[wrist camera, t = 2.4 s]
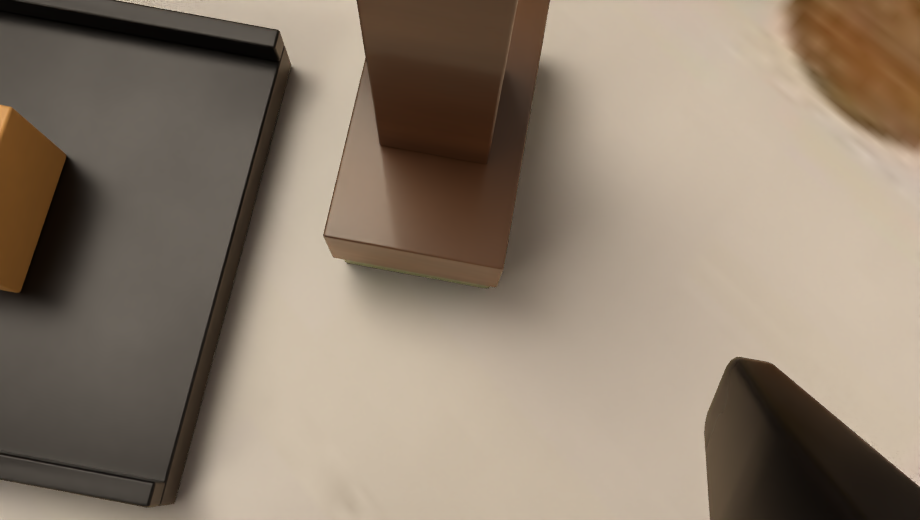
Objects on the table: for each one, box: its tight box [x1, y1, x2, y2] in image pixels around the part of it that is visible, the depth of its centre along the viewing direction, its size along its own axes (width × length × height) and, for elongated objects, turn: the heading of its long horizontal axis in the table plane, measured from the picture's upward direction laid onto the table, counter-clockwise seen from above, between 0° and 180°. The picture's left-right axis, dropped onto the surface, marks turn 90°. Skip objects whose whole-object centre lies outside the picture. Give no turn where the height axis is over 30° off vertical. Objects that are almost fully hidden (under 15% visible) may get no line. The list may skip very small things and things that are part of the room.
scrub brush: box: [323, 0, 550, 289], centre depth 17 cm, size 8×4×14 cm, turn 170°
